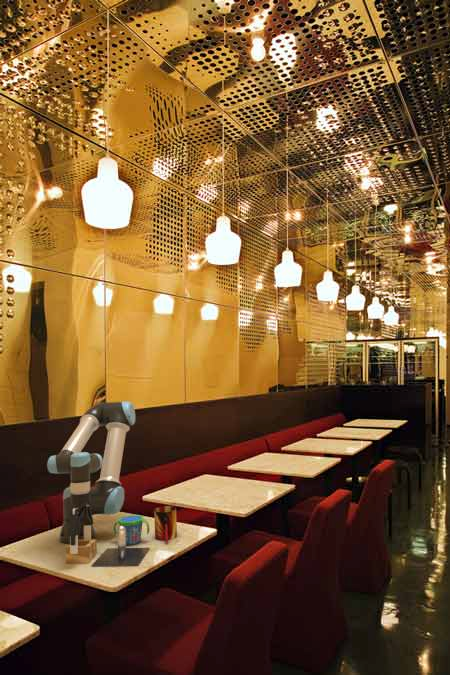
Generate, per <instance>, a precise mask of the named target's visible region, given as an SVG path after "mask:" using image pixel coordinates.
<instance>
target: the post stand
mask: <svg viewBox="0 0 450 675" xmlns="http://www.w3.org/2000/svg"><path fill="white" fill-rule="evenodd" d="M116 535H117V536H116V538H117V547H113V548H110V547H109V548H106V549H105V550H104V552H102V553H101V554H100V556H99V557H98V558H97V559H96V560H95V561H94V562H93V563H92V564H91V567H92V568H98V567H101V568H102V567H103V568H104V567H105V568H106V567H111V568H112V567H139V566H140V564H141V562H143V560H144V558H146V555H147V554H148V552H149V551H150V550H151V547H127V545H126V532H125V527H124V526H120V525H119V526H118V527H117V529H116Z"/></svg>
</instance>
